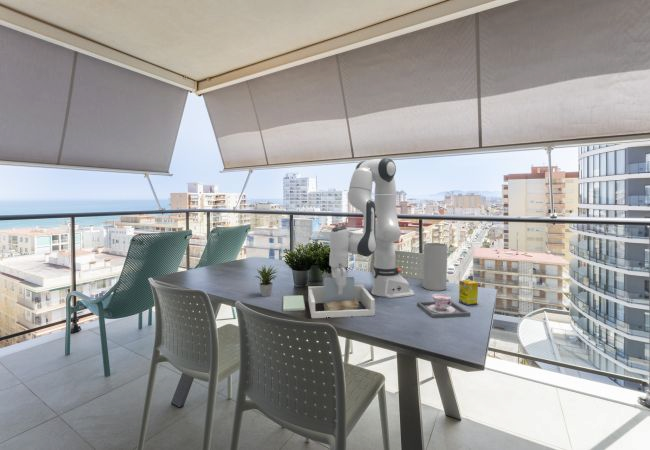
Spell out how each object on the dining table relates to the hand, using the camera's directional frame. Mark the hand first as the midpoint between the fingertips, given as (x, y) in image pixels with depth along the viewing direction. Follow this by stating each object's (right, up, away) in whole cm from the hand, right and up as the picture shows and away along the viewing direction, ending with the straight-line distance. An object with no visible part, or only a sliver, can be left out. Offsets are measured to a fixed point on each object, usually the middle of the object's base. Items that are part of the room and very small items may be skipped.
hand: (338, 291), depth 154 cm
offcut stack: (+1, -9, -6) cm, 10 cm away
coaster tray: (+47, -8, -4) cm, 48 cm away
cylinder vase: (+56, -5, +33) cm, 65 cm away
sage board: (-21, -7, +6) cm, 24 cm away
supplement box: (+63, -7, +6) cm, 64 cm away
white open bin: (0, -8, -1) cm, 8 cm away
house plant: (-37, -7, +20) cm, 42 cm away
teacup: (+47, -8, -2) cm, 48 cm away
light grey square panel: (0, -8, +1) cm, 8 cm away
